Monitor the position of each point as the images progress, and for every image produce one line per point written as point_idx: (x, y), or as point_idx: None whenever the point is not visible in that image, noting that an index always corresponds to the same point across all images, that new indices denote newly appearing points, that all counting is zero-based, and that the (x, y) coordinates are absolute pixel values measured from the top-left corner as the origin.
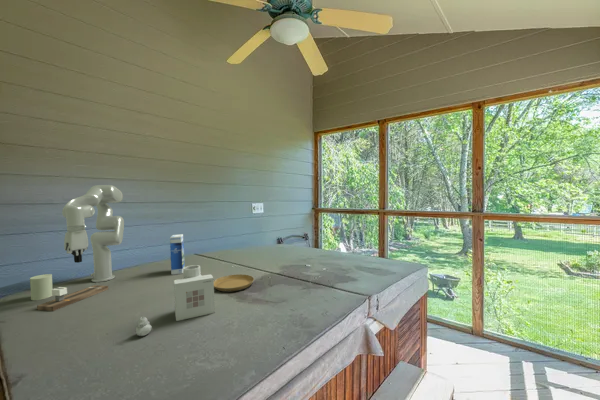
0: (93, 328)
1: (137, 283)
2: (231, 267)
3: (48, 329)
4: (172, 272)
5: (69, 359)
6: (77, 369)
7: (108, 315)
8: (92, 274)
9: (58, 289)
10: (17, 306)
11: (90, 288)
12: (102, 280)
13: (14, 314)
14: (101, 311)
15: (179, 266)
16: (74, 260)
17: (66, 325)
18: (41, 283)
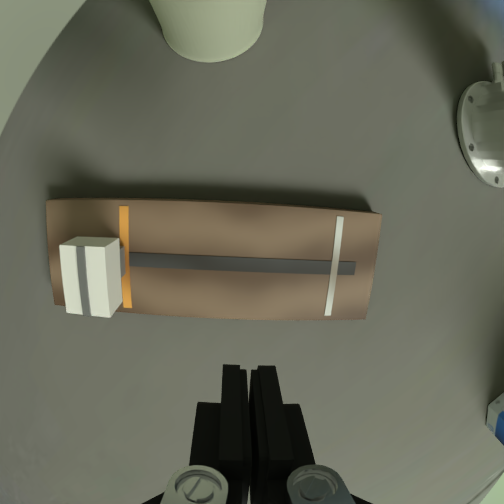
0: (62, 482)
1: (423, 375)
2: (483, 480)
3: (6, 402)
4: (492, 411)
5: (8, 486)
6: (11, 499)
7: (115, 483)
8: (498, 72)
9: (71, 295)
10: (86, 43)
11: (322, 249)
12: (470, 161)
13: (13, 150)
14: (125, 460)
15: (500, 437)
16: (197, 409)
17: (35, 428)
18: (163, 10)
